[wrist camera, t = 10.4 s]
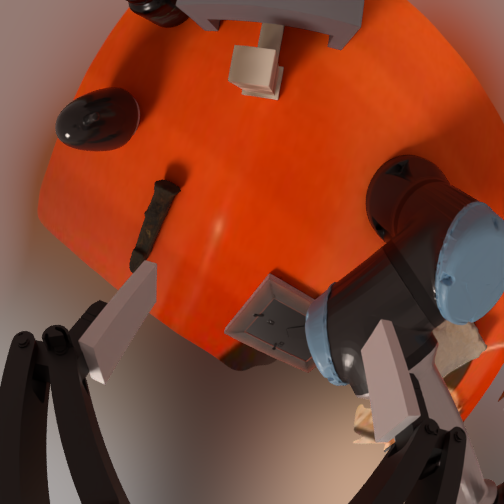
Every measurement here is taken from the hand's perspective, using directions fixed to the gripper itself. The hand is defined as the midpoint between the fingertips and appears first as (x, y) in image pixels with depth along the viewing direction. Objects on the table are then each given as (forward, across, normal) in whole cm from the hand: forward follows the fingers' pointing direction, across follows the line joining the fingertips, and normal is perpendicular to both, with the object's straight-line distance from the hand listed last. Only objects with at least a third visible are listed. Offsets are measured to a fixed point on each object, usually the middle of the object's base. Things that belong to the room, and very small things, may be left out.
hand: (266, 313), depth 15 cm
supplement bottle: (+29, +23, -26) cm, 45 cm away
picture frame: (+30, -9, +27) cm, 42 cm away
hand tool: (+30, +20, +13) cm, 38 cm away
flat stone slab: (+30, -48, +24) cm, 62 cm away
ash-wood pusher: (+29, +7, -22) cm, 37 cm away
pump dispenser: (+29, +28, -6) cm, 41 cm away
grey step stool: (+29, +7, -26) cm, 40 cm away
